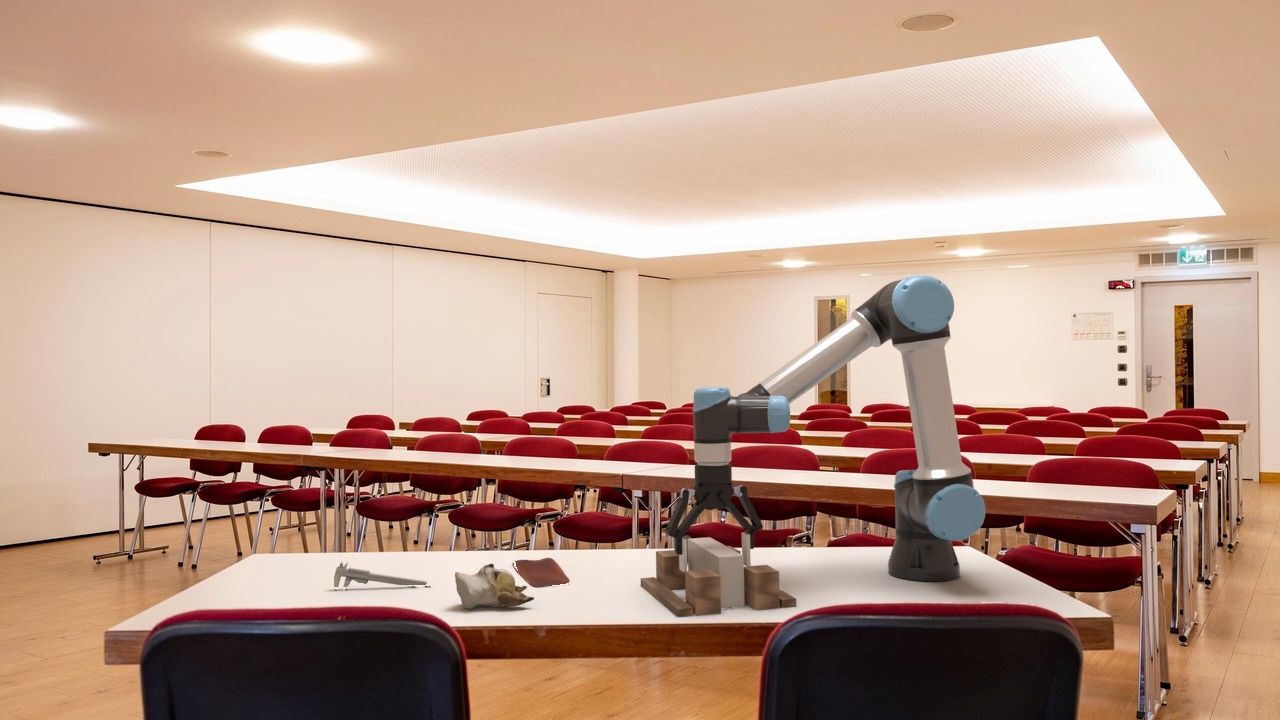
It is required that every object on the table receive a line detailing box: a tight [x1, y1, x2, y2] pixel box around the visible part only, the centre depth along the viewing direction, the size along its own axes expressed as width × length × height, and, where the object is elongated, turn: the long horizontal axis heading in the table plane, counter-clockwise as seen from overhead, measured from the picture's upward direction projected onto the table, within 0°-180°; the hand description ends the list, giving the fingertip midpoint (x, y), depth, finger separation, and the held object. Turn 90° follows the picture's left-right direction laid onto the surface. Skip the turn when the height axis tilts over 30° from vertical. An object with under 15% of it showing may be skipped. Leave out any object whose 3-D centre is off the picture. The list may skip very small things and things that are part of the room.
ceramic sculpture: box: [454, 563, 535, 610], centre depth 182 cm, size 11×9×15 cm
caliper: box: [333, 561, 428, 588], centre depth 197 cm, size 20×1×6 cm, turn 96°
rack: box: [640, 545, 797, 618], centre depth 187 cm, size 24×26×7 cm
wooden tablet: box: [514, 557, 571, 588], centre depth 210 cm, size 27×10×2 cm, turn 16°
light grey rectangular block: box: [687, 536, 745, 609], centre depth 187 cm, size 5×20×10 cm, turn 15°
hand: (715, 568), depth 187 cm, fingers open, 13 cm apart
